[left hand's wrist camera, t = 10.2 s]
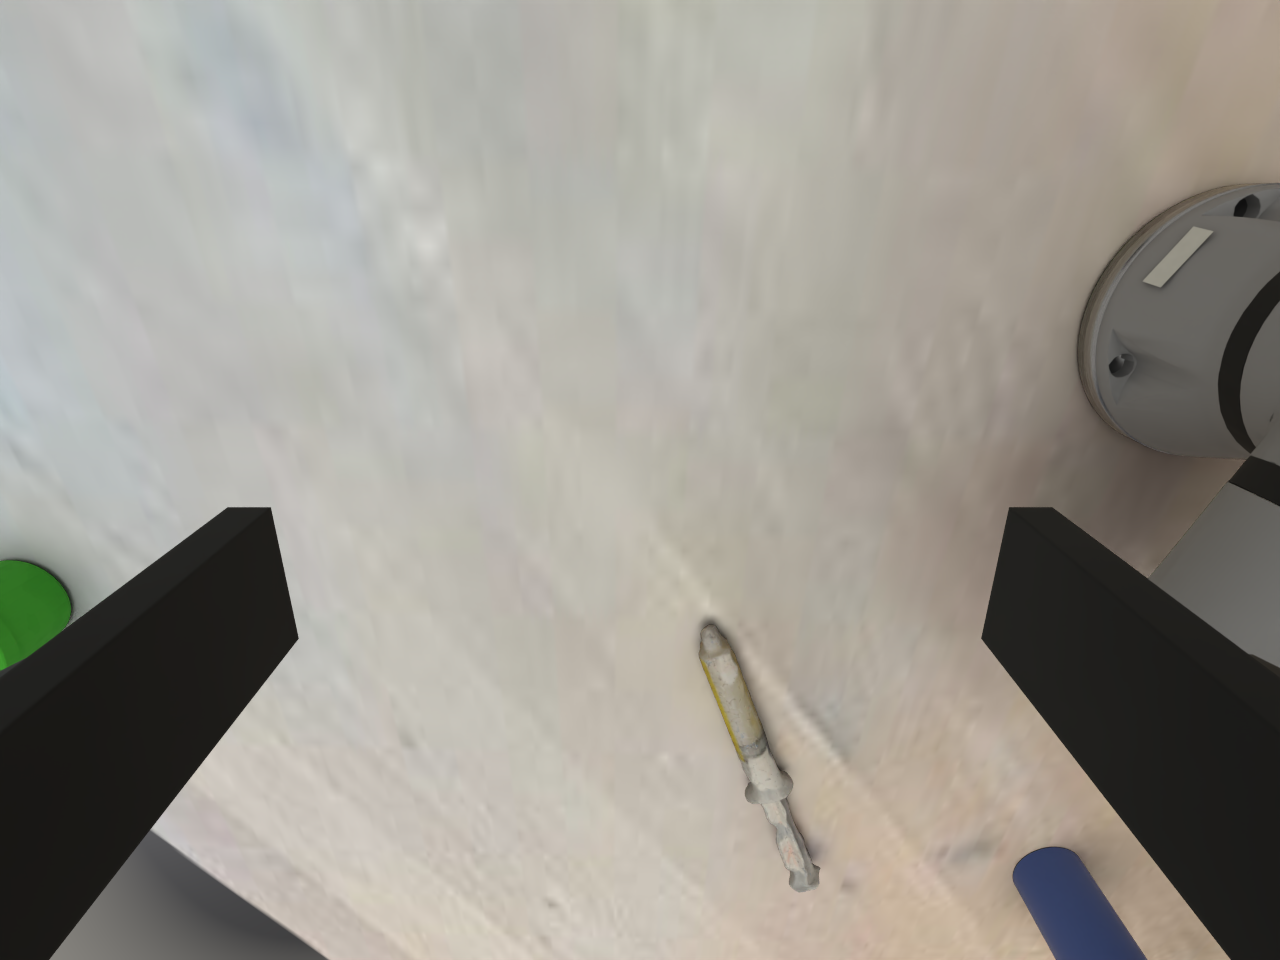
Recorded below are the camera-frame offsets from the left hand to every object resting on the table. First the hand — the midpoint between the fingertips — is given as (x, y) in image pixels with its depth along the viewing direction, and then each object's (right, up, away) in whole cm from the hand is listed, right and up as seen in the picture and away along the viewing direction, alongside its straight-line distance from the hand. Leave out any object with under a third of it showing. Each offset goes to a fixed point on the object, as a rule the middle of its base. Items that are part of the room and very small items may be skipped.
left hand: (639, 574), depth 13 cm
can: (+34, -31, +45) cm, 64 cm away
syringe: (+9, -19, +41) cm, 46 cm away
